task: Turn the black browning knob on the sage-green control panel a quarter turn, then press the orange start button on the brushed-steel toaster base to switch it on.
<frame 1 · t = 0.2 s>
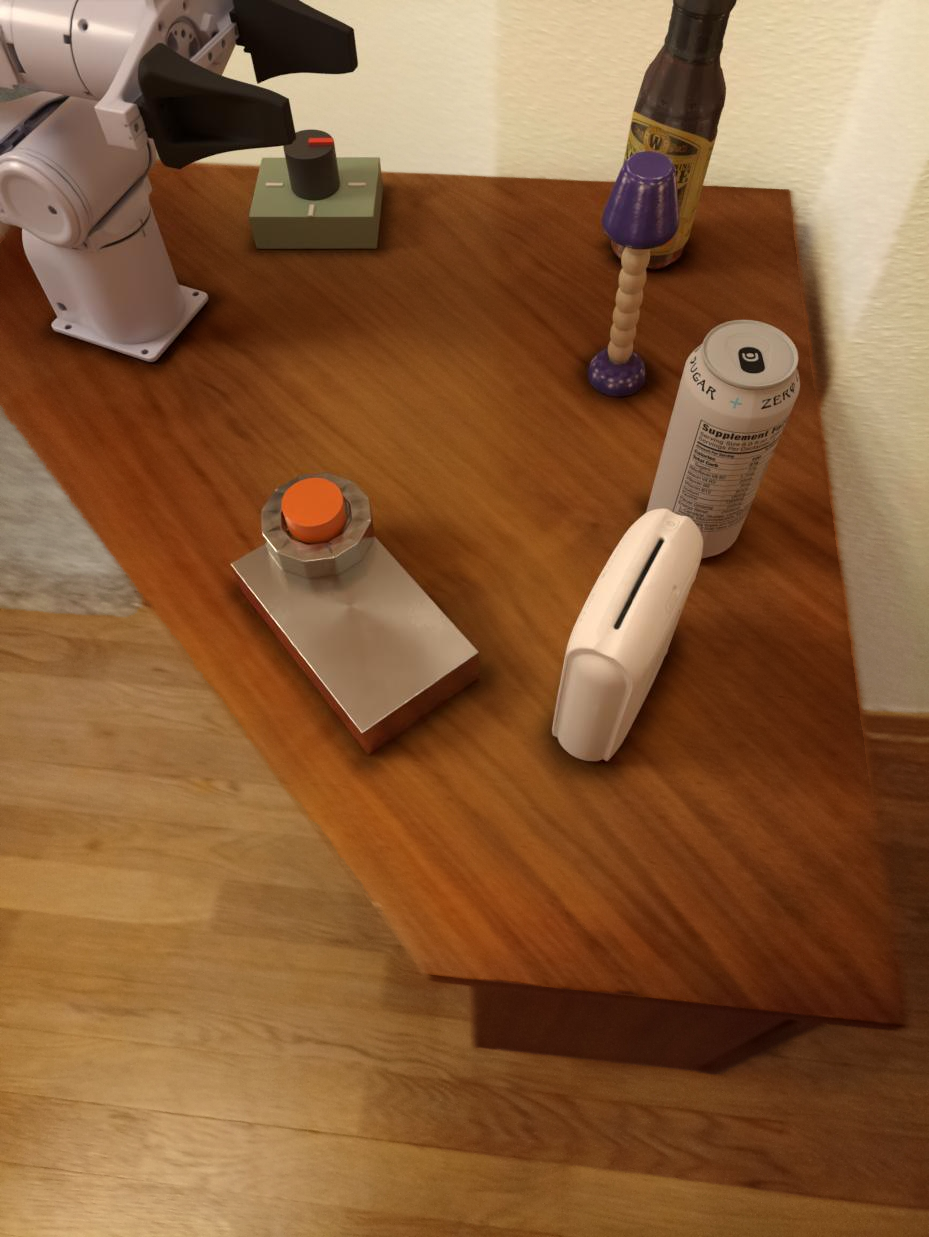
hand: (323, 84, 47), 21 cm above the table, tool horizontal, fingers open, 7 cm apart
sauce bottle: (648, 252, 72), on the table
browning knob: (311, 163, 71), point 5 cm above the table, hinge at 0.0°
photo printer: (610, 688, 52), on the table
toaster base: (357, 633, 54), on the table
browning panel: (321, 218, 75), on the table
toy lamp: (612, 380, 65), on the table
start button: (314, 510, 52), point 5 cm above the table, slide at 0.1 cm
energy drink can: (689, 530, 58), on the table
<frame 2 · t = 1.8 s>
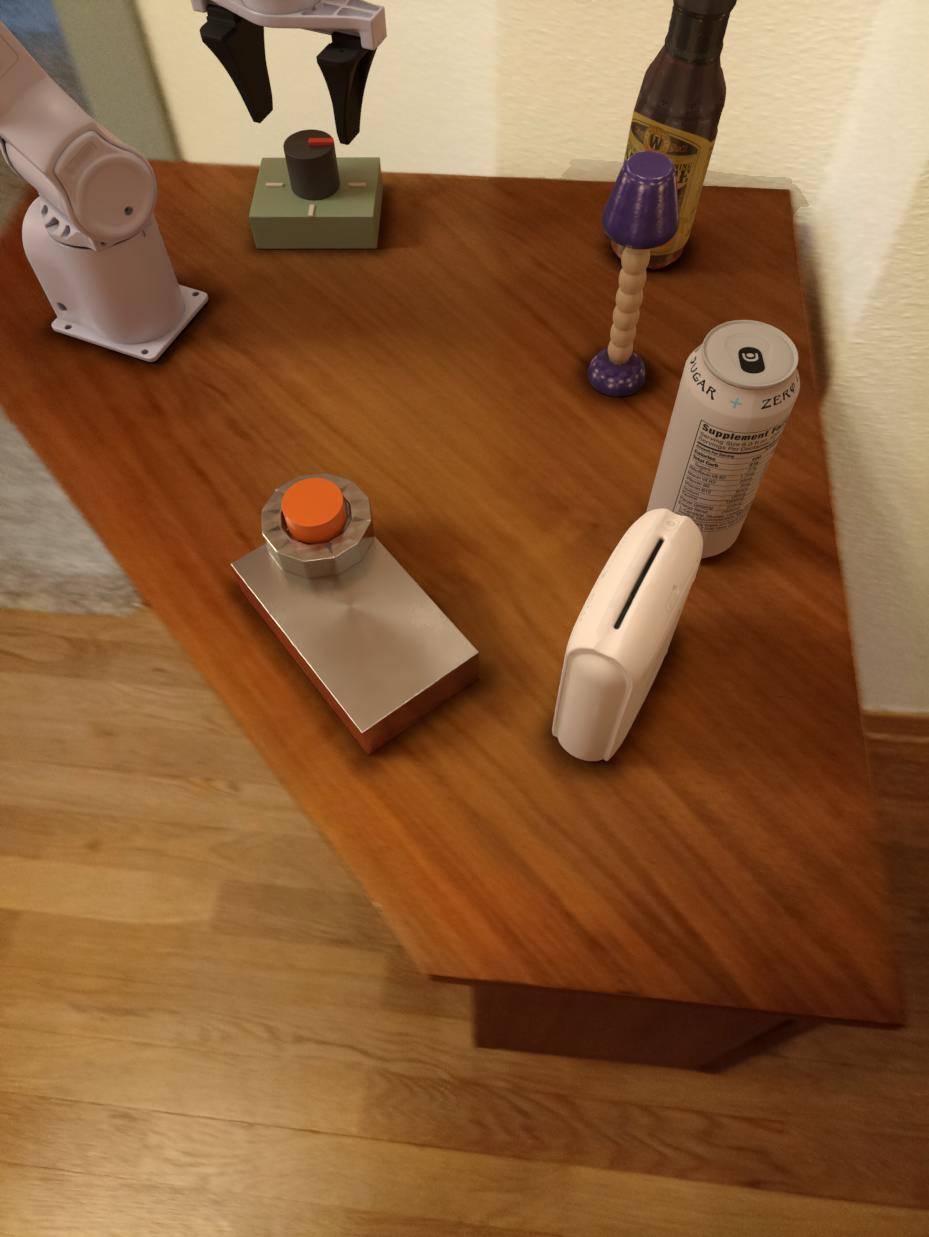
hand: (306, 126, 68), 8 cm above the table, tool pointing down, fingers open, 7 cm apart
nothing on the table moved.
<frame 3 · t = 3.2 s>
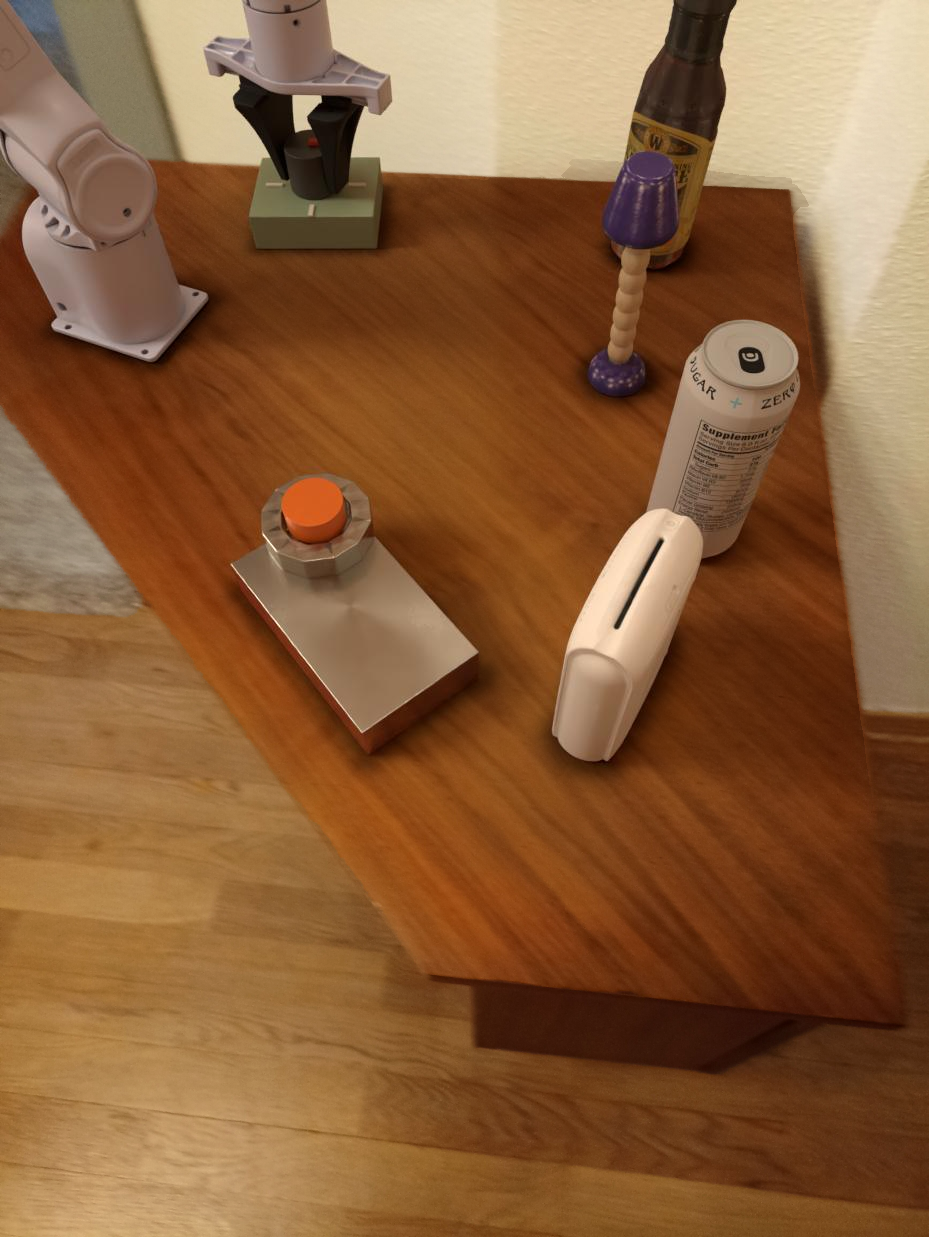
hand: (315, 180, 72), 4 cm above the table, tool pointing down, fingers closed on browning knob, 4 cm apart
browning knob: (311, 163, 71), point 5 cm above the table, hinge at 0.0°, touching gripper
everything else where it was.
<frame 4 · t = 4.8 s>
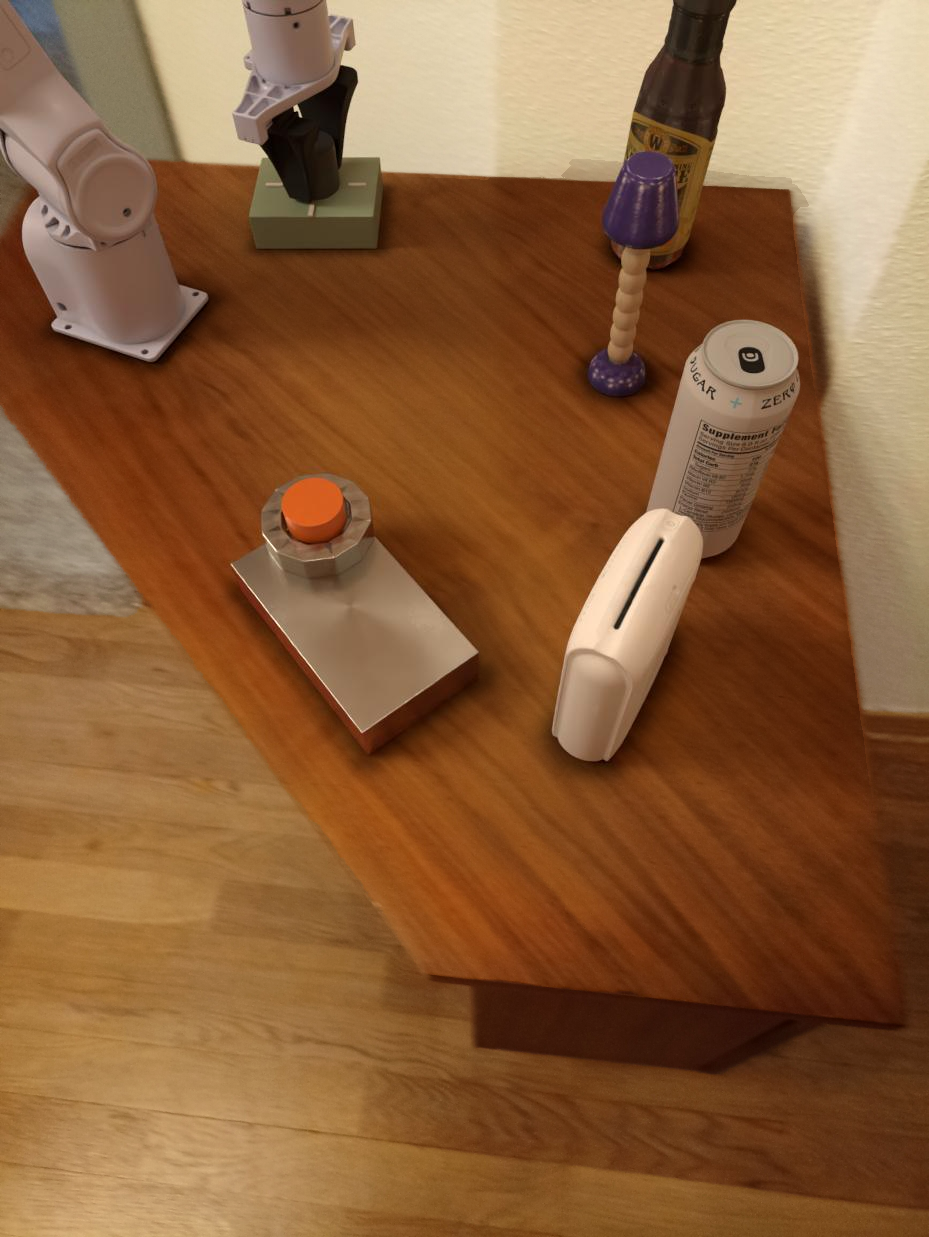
hand: (315, 181, 72), 3 cm above the table, tool pointing down, fingers closed on browning knob, 4 cm apart
browning knob: (311, 163, 71), point 5 cm above the table, hinge at 90.0°, touching gripper
everything else where it was.
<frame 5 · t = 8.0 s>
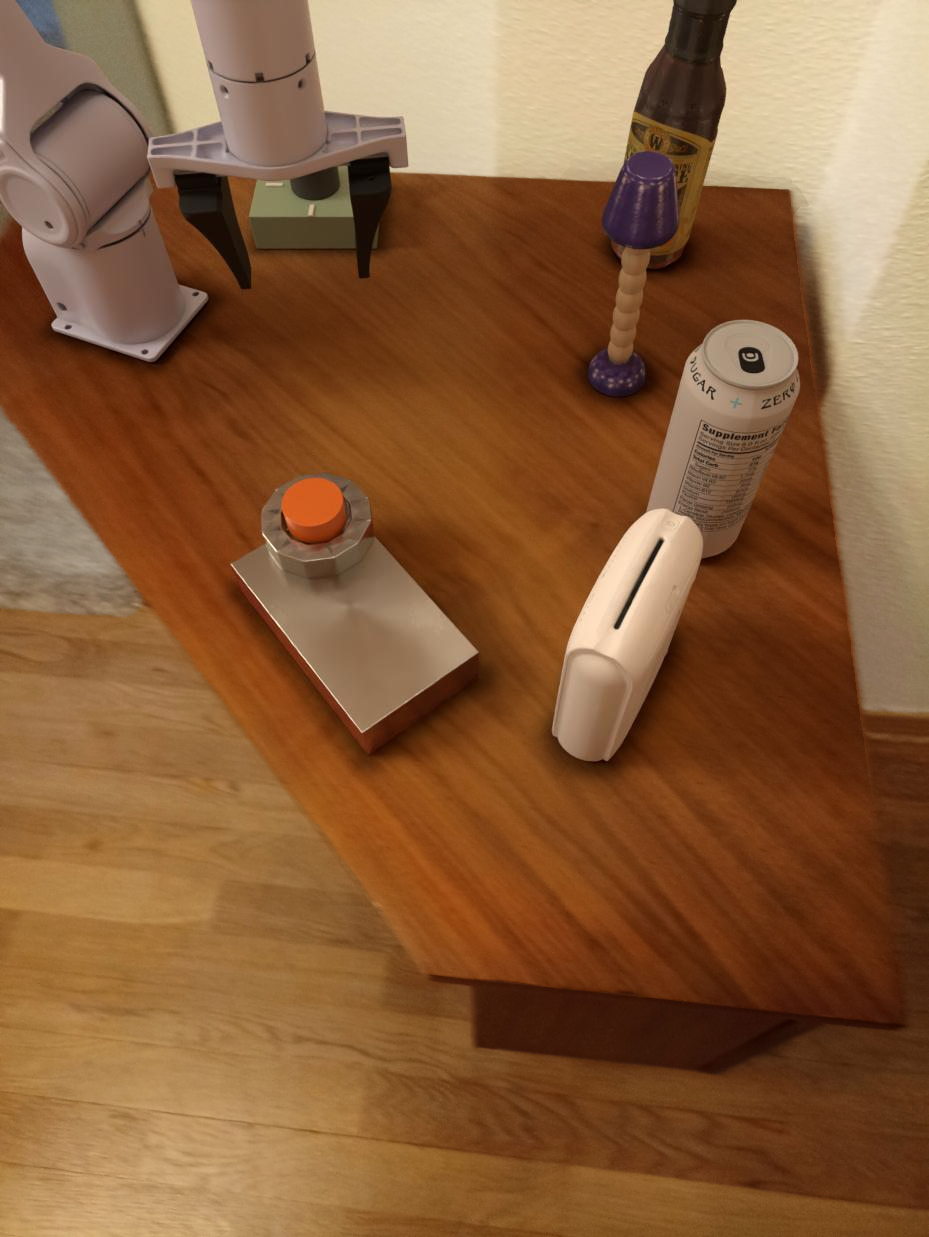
hand: (305, 274, 58), 9 cm above the table, tool pointing down, fingers open, 7 cm apart
browning knob: (311, 163, 71), point 5 cm above the table, hinge at 89.7°
everything else where it was.
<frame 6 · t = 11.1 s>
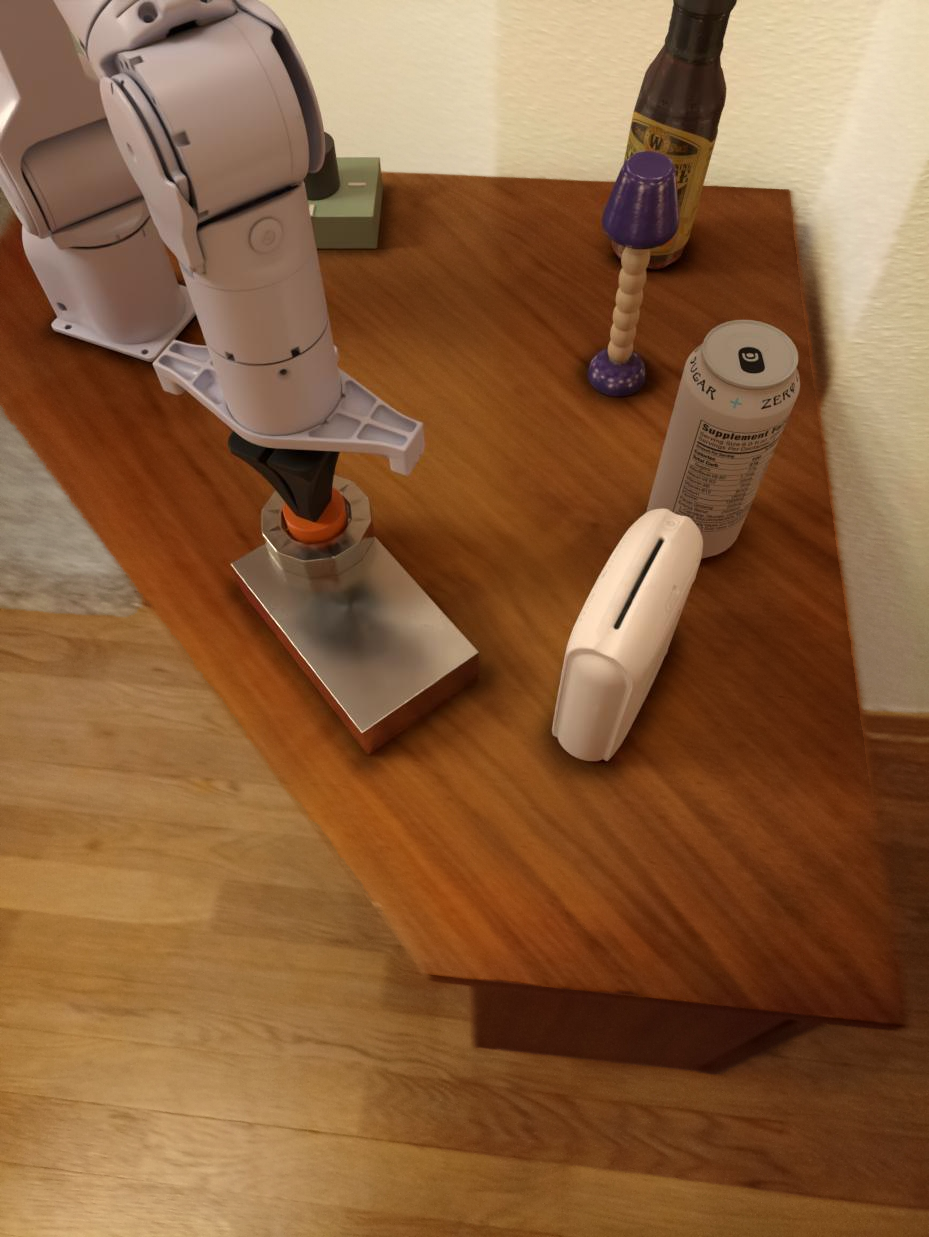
hand: (313, 507, 52), 6 cm above the table, tool pointing down, fingers closed, pressing on start button
start button: (315, 515, 53), point 5 cm above the table, slide at -0.4 cm, touching gripper
everything else where it was.
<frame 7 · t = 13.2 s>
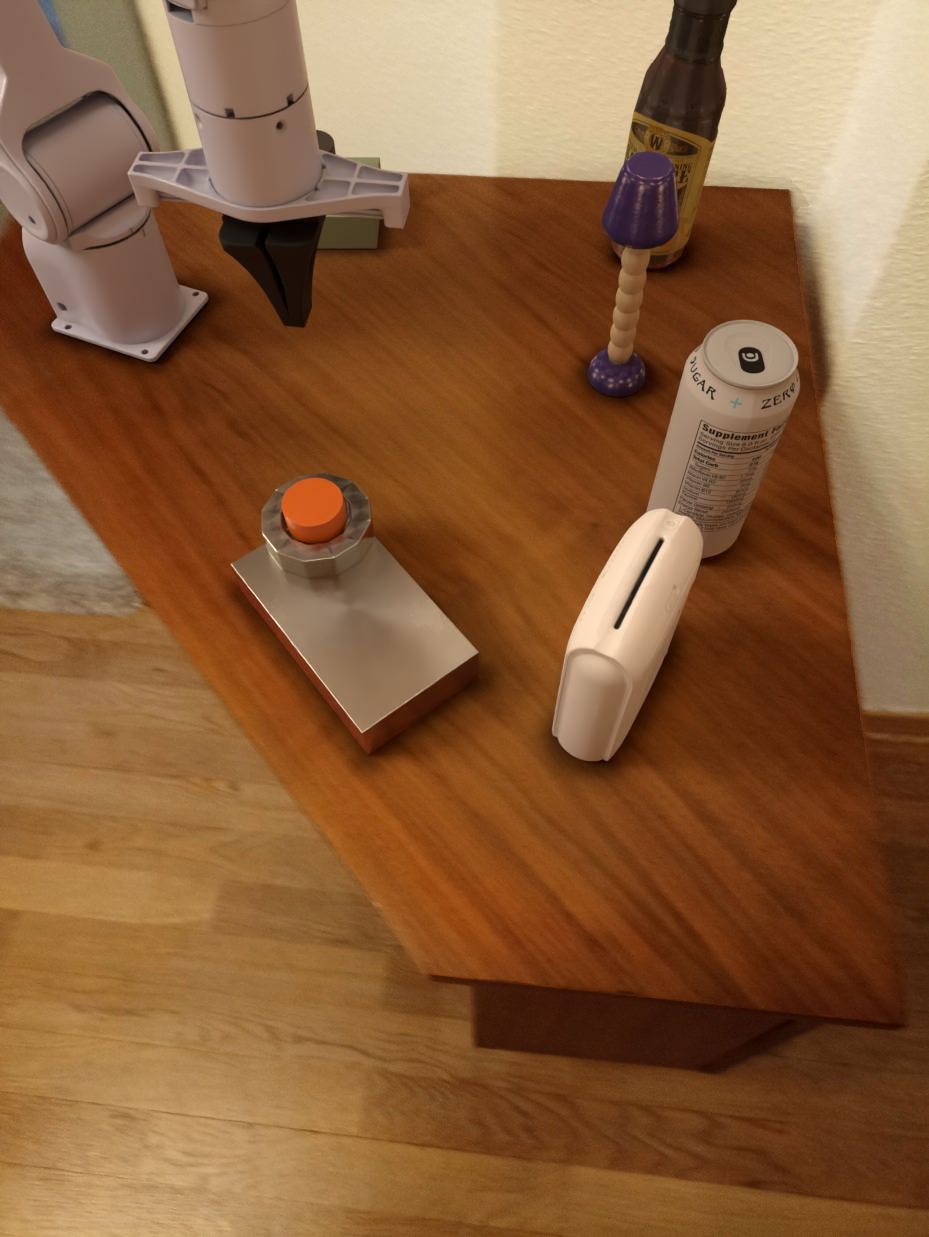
hand: (297, 315, 54), 10 cm above the table, tool pointing down, fingers closed
start button: (314, 510, 52), point 5 cm above the table, slide at 0.1 cm
everything else where it was.
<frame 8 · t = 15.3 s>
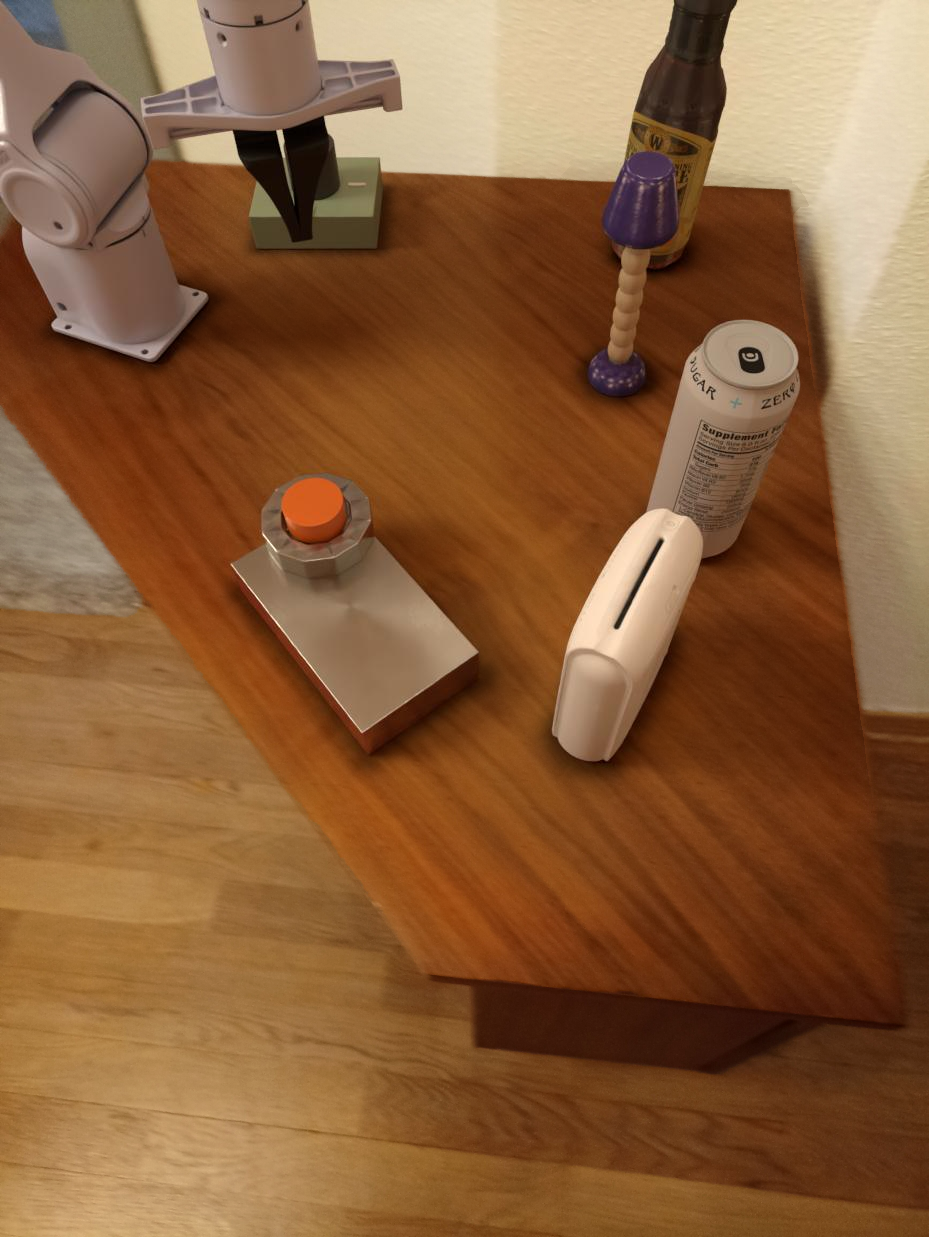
hand: (300, 231, 58), 10 cm above the table, tool pointing down, fingers closed
nothing on the table moved.
at the end: browning knob at +90° (first picture: +0°); start button pushed in 1.2 cm at the most during the clip, back to where it started at the end; start button slide at 0.1 cm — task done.
